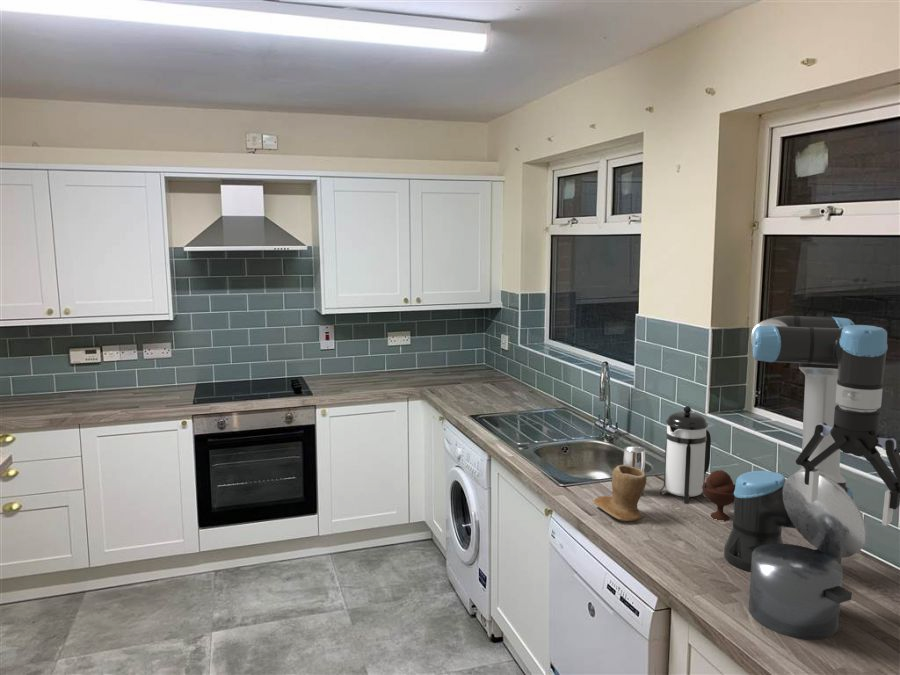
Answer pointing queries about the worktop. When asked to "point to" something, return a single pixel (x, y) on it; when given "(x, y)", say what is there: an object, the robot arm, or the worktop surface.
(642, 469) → the silver metal cylinder
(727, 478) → the ice cream bowl
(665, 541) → the worktop surface
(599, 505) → the tan flared hollow piece
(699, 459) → the coffee press
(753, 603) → the pressure cooker pot
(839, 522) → the pot lid
